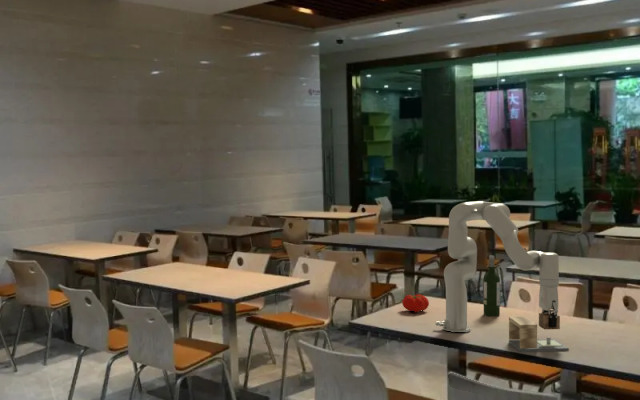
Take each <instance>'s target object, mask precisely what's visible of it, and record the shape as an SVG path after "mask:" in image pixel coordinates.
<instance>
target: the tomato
mask: <svg viewBox="0 0 640 400" xmlns="http://www.w3.org/2000/svg"><path fill="white" fill-rule="evenodd" d="M401 303H402V306H403V307H404V309H406V310H407V311H409V312H410V311H414V312H413V313H416V312H417V313H419V311H420V312H422V311H421V310H424V311H426V310H427V309H428V308H429V305H430V301H429V299H428V298H427V296H426V295H425V296H424V295H423V294H419V293H417V294H413V295H411V294H407V295H405V297H404V298H403V299H402V302H401Z"/></svg>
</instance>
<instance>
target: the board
mask: <svg viewBox="0 0 640 400" xmlns="http://www.w3.org/2000/svg"><path fill="white" fill-rule="evenodd" d="M551 337H552V336H546V338H545V339H543V338H541V339H538V338H537V348H521V349H520V340H509V339H508V343H509V344H510V345H511V346H512V347H514V348H515V349H516V350H518V351H519V352H520V353H522V352H523V353H524V352H561V351H562V352H565V351H566V352H567V351H570V348H569V347H567V346H566V345H565V344H563V343H562V342H560V341H559V340H557V339H556V338H551Z"/></svg>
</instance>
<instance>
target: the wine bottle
mask: <svg viewBox="0 0 640 400" xmlns="http://www.w3.org/2000/svg"><path fill="white" fill-rule="evenodd" d="M495 266H496V265H495V255H489V256H488V272H487V273H486V274H485V275H484V277H483V315H484V316H485V315H486V317H492V316H494V317H499V316H500V314H501V313H500V311H501V310H500V306H501V305H500V301H501V299H500V298H501V296H500V295H501V293H500V289H501V288H500V287H501V281H500V280H501V278H500V275H499V274H498V273H497V272H496V271H495V270H496V269H495Z"/></svg>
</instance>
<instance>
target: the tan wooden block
mask: <svg viewBox="0 0 640 400" xmlns="http://www.w3.org/2000/svg"><path fill="white" fill-rule="evenodd" d="M537 339H538V324H537V323H536V322H534V321H533V320H531V319H529V318H528V317H526V316H508V341H509V340H520V349H521V348H537Z"/></svg>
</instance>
